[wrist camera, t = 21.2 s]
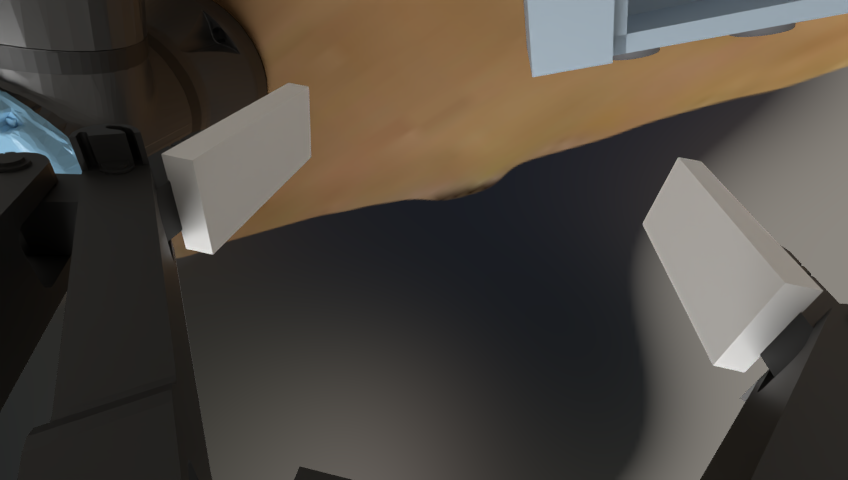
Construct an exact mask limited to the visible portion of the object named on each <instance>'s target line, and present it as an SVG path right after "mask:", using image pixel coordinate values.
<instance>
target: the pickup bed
mask: <svg viewBox="0 0 848 480" xmlns="http://www.w3.org/2000/svg"><path fill="white" fill-rule="evenodd" d="M524 12H525V26H526V40H527V50H528V56H529V61H530V66H531V72H532V77H536V76H542V75H548V74H553V73H559V72H564V71H570V70H576V69H581V68H587V67H593V66H598V65H604V64H609V63H613V60H628V59H636V58H641V57H646V56H649V55H652V54H655V53H657V52H658V51H659V50H660V47H664V46H669V45H675V44H680V43H686V42H691V41H697V40H702V39H708V38H713V37H719V36H724V35H730V36H735V37H753V36H763V35H771V34H776V33H781V32H785V31H788V30H791V29H793V28H794V27H795V23H796V22H801V21H807V20H812V19H818V18H823V17H829V16H834V15H840V14H845V13H848V0H524Z"/></svg>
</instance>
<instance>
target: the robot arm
mask: <svg viewBox="0 0 848 480" xmlns="http://www.w3.org/2000/svg"><path fill="white" fill-rule="evenodd" d="M310 158H311V137H310V106H309V87H308V86H303V85H297V84H292V83H287V84H286V85H284V86H282V87H280V88H278V89H277V90H275V91H273V92H271V93H269V94H268V95H267V84H266V77H265V72H264V69H263V65H262V62H261V60H260V57H259V55H258V53H257V50H256V48H255V47H254V45H253V43H252V41H251V40H250V38H249V37H248V35H247V34H246V32H245V31H244V29H243V28H242V27H241V26H240V25H239V23H238V22H237V21H236V20H235V19H234V18H233V17H232V16H231V15H230V14H229V13H228V12H227V11H226V10H224V9H223V8H222V7H221V6H219V5H218V4H216V3H215V2H213V1H212V0H0V412H1V410H2V408H3V406H4V404H5V402H6V401H7V399H8V397H9V395H10V393H11V392H12V390H13V388H14V386H15V384H16V382H17V381H18V379H19V377H20V375H21V373H22V372H23V370H24V368H25V366H26V364H27V363H28V360H29V359H30V357H31V355H32V353H33V352H34V350H35V348H36V346H37V344H38V342H39V341H40V339H41V337H42V335H43V333H44V332H45V330H46V328H47V326H48V324H49V323H50V321H51V319H52V317H53V315H54V314H55V312H56V310H57V308H58V306H59V305H60V303H61V301H62V299H63V297H64V295H65V294H66V292H67V298H66V306H65V314H64V322H63V330H62V339H61V347H60V355H59V363H58V371H57V379H56V388H55V396H54V404H53V412H52V417H51V421H50V423H48V424H44V425H41V426H38V427H35V428H33V430H32V431H31V432H30V433H29V435H28V436H27V437H26V441H25V444H24V447H23V451H22V455H21V461H20V467H19V473H18V479H17V480H212V476H211V471H210V465H209V459H208V453H207V447H206V441H205V435H204V429H203V422H202V417H201V410H200V404H199V398H198V392H197V386H196V380H195V374H194V368H193V361H192V356H191V349H190V343H189V337H188V331H187V325H186V319H185V314H184V307H183V301H182V295H181V289H180V283H179V276H178V270H177V265H176V258H175V252H174V247H173V244H172V241H171V239H172V238H173V237H174V236H175V235H177V234H178V233H179V232H180V231H182V235H183V238H184V242H185V246H186V249H190V250H194V251H199V252H203V253H208V254H214V253H215V252H216V251H217V250H218V249H219V248H220V247H221V246H222V245H223V244H224V243H225V242H226V241H227V240H228V239H229V238H230V237H231V236H232V235H233V234H234V233H235V232H236V231H237V230H238V229H239V228H240V227H241V226H242V225H243V224H244V223H245V222H246V221H247V220H248V219H249V218H250V217H251V216H252V215H253V214H254V213H255V212H256V211H257V210H258V209H259V208H260V207H261V206H262V205H263V204H264V203H265V202H266V201H267V200H268V199H269V198H270V197H271V196H272V195H273V194H274V193H275V192H276V191H277V190H278V189H279V188H280V187H281V186H282V185H283V184H284V183H286V182H287V181H288V180H289V179H290V178H291V177H292V176H293V175H294V174H295V173H296V172H297V171H298V170H299V169H300V168H301V167H302V166H303V165H304V164H305V163H306V162H307V161H308V160H309V159H310ZM643 226H644V228H645V230H646V232H647V234H648V236H649V238H650V240H651V242H652V244H653V246H654V248H655V250H656V252H657V254H658V256H659V258H660V260H661V262H662V264H663V266H664V268H665V270H666V272H667V274H668V276H669V278H670V280H671V282H672V284H673V286H674V288H675V291H676V293H677V295H678V296H679V299H680V301H681V302H682V305H683V307H684V309H685V310H686V313H687V315H688V317H689V319H690V320H691V322H692V325H693V327H694V329H695V330H696V333H697V335H698V337H699V339H700V341H701V342H702V344H703V347H704V349H705V351H706V353H707V354H708V357H709V359H710V360H711V362H712V365H713V366H718V367H722V368H727V369H731V370H736V371H740V372H746V370H748V368H749V367H750V366H751V365H752V364H753V363H754V362H755V361H756V360H757V359H758V358H759V357H760V356H761V357H762V359H763V360H764V362H765V363H766V365H767V367H768V368H769V370H768V371H767V372H766V373H765V374H764V375H763V376H762V377H761V378H760V379H759V380H758V381H757V382H756V383H755V384H754V385H753V386H752V387H751V388H750V389H749V390H748V391H747V392H746V393H744V394H743V395H742V397H740V398H741V399H742V400H743V401H746V402H745V404H744V405H743V407H742V409H741V411H740V412H739V414H738V416H737V417H736V419H735V421H734V423H733V424H732V426H731V428H730V430H729V431H728V433H727V435H726V436H725V438H724V440H723V442H722V443H721V445H720V446H719V448H718V450H717V452H716V453H715V455H714V457H713V458H712V460H711V462H710V464H709V466H708V467H707V469H706V471H705V472H704V474H703V476H702V477H701V479H700V480H848V304H839V303H838V302H837V301H836V300H835V298H834V297H833V296H832V295H831V294H830V293H829V292H828V291H827V290H826V289H825V288H824V287H823V286H822V285H821V284H820V283H819V282H818V281H817V280H816V279H815V278H814V277H813V276H811V273H810V272H809V271H808V270H807V269H806V268H805V267H804V266H801V263H800V262H799V261H798V260H797V259H796V258H795V257H794V256H793V255H792V253H791V252H790V251H788V250H787V249H785V248H783V247H782V246H781V245H780V244H779V243H778V242H777V241H776V240H775V239H774V238H773V237H772V236H771V235H770V234H769V233H768V232H767V231H766V230H765V229H764V227H763V226H762V225H761V224H760V223H759V222H758V221H757V220H756V219H755V218H754V217H753V216H752V215H751V214H750V213H749V212H748V211H747V210H746V208H745V207H744V206H743V205H742V204H741V203H740V202H739V201H738V200H737V199H736V198H735V197H734V196H733V195H732V194H731V193H730V191H729V190H728V189H727V188H726V187H725V186H724V185H723V184H722V183H721V182H720V181H719V180H718V179H717V178H716V177H715V176H714V174H713V173H712V172H711V171H710V170H709V169H708V168H707V167H706V166H705V165H704V164H703V163H702V162H701V161H696V160H691V159H685V158H680V157H679V158H678V159H677V160H676V162H675V164H674V166H673V168H672V170H671V172H670V173H669V175H668V177H667V179H666V181H665V183H664V185H663V186H662V189H661V190H660V192H659V194H658V196H657V198H656V199H655V201H654V203H653V205H652V207H651V209H650V211H649V212H648V214H647V217H646V218H645V220H644V222H643ZM294 480H351V479H347V478H343V477H339V476H335V475H331V474H327V473H323V472H319V471H315V470H311V469H308V468H303V467H299V469H298V472H297V474H296V477H295V479H294Z"/></svg>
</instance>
